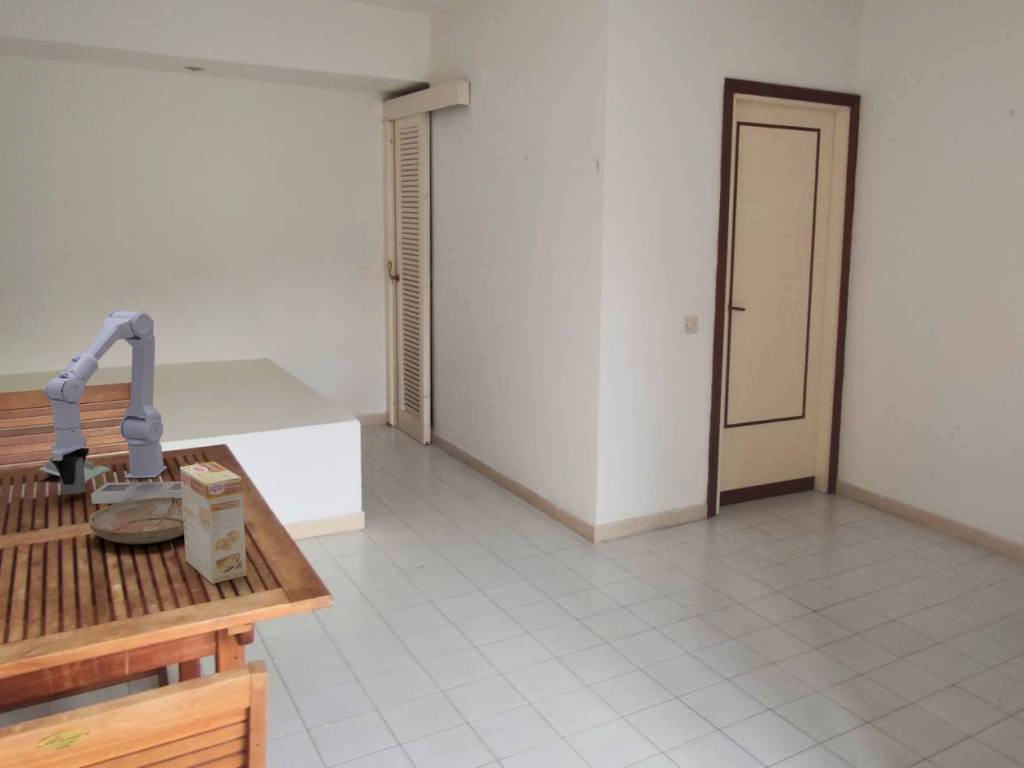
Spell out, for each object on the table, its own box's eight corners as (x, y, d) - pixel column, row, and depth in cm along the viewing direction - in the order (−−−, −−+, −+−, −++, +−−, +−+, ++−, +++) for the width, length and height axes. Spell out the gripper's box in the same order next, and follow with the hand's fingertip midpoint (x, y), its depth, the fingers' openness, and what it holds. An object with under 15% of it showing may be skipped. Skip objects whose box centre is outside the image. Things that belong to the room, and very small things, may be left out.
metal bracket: (31, 463, 216) (66, 448, 231) (27, 484, 217) (62, 468, 232) (84, 480, 216) (115, 464, 230) (80, 500, 217) (111, 483, 231)
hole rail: (107, 492, 210) (106, 482, 210) (205, 490, 212) (204, 481, 212) (92, 503, 202) (91, 493, 201) (194, 501, 203) (194, 491, 203)
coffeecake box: (248, 575, 160) (243, 477, 157) (211, 585, 156) (204, 484, 152) (220, 552, 172) (214, 460, 168) (184, 560, 167) (178, 466, 164)
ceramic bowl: (147, 562, 167) (145, 538, 166) (65, 543, 177) (63, 520, 176) (231, 526, 187) (230, 504, 187) (154, 510, 197) (152, 490, 196)
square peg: (69, 488, 207) (65, 457, 206) (85, 488, 207) (82, 457, 206) (61, 493, 203) (58, 461, 202) (78, 493, 203) (75, 461, 202)
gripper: (63, 420, 209) (69, 473, 212) (35, 434, 195) (41, 490, 197) (93, 420, 210) (98, 472, 212) (67, 434, 195) (72, 490, 198)
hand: (72, 481), depth 205 cm, fingers closed on square peg, 4 cm apart
